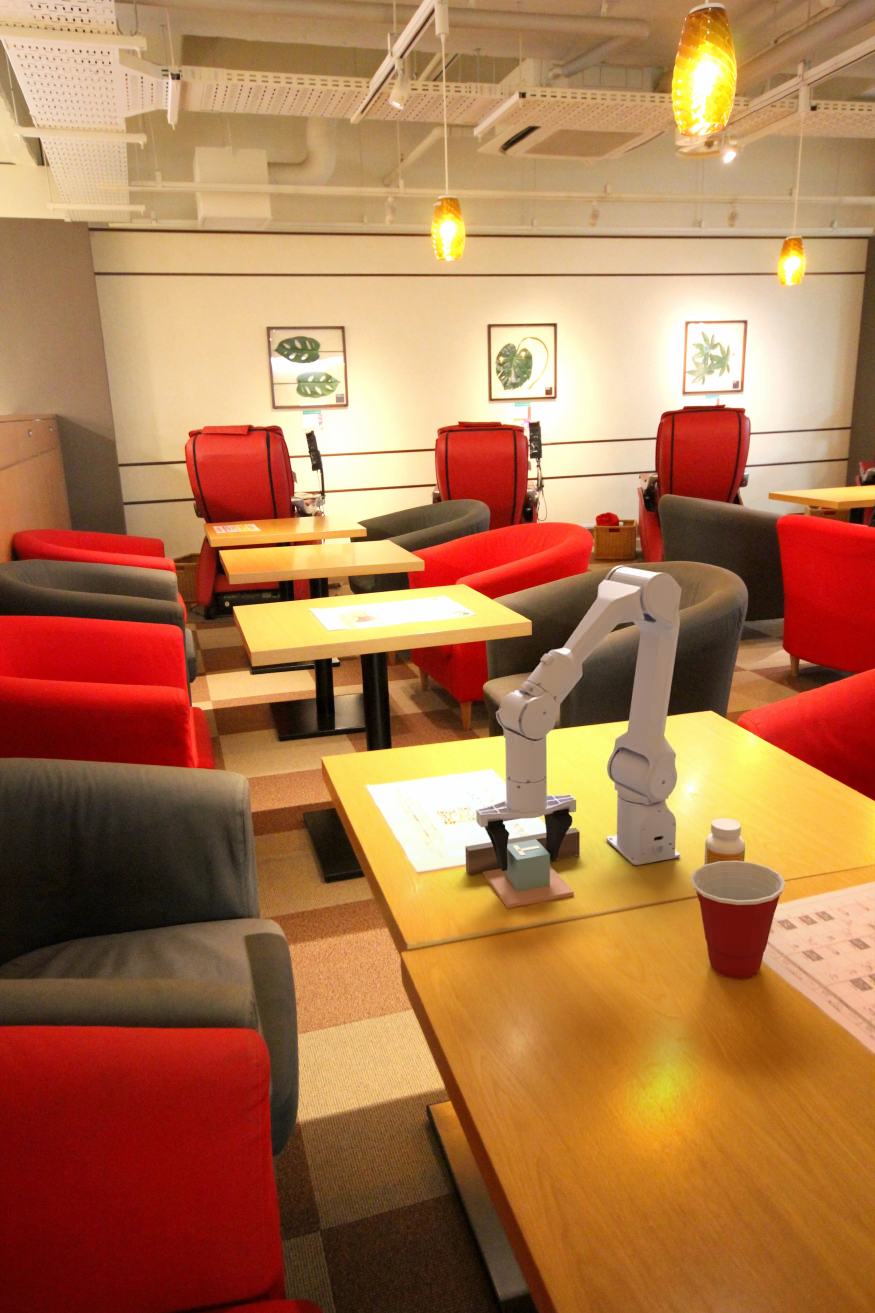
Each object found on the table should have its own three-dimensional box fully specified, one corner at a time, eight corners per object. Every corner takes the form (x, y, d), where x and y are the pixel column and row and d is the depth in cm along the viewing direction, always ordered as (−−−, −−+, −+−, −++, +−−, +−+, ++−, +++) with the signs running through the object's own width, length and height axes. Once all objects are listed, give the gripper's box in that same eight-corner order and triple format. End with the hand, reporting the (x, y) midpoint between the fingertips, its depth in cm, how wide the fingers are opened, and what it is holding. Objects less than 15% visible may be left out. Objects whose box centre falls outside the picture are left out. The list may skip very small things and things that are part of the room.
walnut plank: (579, 855, 140) (579, 831, 139) (469, 875, 135) (468, 850, 134) (575, 851, 142) (575, 827, 141) (466, 870, 137) (465, 846, 136)
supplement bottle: (748, 895, 127) (751, 832, 125) (709, 896, 127) (712, 832, 125) (736, 876, 132) (739, 815, 130) (699, 877, 132) (701, 816, 130)
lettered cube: (549, 885, 130) (549, 853, 129) (517, 891, 129) (516, 859, 128) (536, 870, 135) (536, 838, 134) (504, 875, 134) (504, 844, 132)
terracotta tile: (573, 895, 129) (573, 891, 129) (507, 908, 126) (507, 904, 126) (545, 864, 138) (545, 860, 138) (483, 875, 135) (483, 871, 135)
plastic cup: (708, 931, 119) (712, 848, 116) (792, 960, 112) (798, 871, 109) (671, 971, 111) (674, 882, 108) (759, 1004, 104) (765, 910, 101)
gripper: (561, 758, 133) (561, 843, 137) (468, 772, 129) (470, 859, 133) (582, 775, 127) (582, 864, 130) (485, 791, 123) (487, 881, 126)
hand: (527, 863), depth 131 cm, fingers open, 7 cm apart
